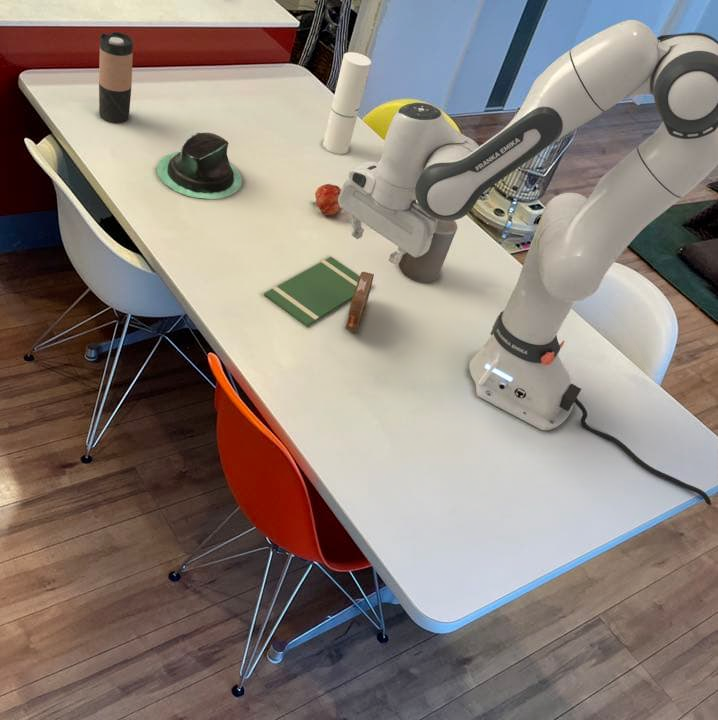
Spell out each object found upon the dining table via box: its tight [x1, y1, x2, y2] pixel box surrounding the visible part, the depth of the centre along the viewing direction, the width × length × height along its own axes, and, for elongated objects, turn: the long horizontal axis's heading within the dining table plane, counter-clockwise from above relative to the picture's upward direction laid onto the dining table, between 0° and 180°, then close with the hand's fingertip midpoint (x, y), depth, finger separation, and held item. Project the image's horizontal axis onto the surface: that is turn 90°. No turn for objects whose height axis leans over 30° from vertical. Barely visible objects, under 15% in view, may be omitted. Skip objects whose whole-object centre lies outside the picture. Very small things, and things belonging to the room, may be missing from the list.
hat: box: [156, 132, 243, 200], centre depth 186 cm, size 15×19×20 cm
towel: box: [263, 256, 360, 327], centre depth 166 cm, size 12×22×1 cm, turn 142°
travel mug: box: [98, 31, 134, 124], centre depth 190 cm, size 8×8×20 cm
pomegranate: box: [312, 183, 343, 216], centre depth 187 cm, size 7×7×10 cm
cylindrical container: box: [322, 51, 372, 155], centre depth 205 cm, size 7×7×25 cm
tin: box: [345, 271, 375, 333], centre depth 160 cm, size 15×3×8 cm, turn 168°
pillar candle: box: [398, 219, 458, 283], centre depth 176 cm, size 10×10×15 cm
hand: (374, 249), depth 151 cm, fingers open, 8 cm apart
